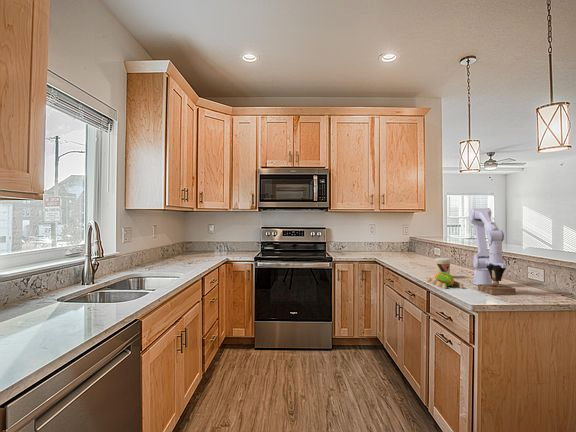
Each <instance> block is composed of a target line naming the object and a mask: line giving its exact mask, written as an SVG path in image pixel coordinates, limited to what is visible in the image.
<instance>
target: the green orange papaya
mask: <svg viewBox="0 0 576 432" xmlns="http://www.w3.org/2000/svg"><path fill="white" fill-rule="evenodd" d="M442 273H444V274H436V273H435V275H434V278H435V280H437V281H440V282H442V283H444V284H446V285H447V287H452V286H454V285H453V284H454V281H455V279H454V277H453V275H452V274H451V273H450V274H448V273H446V272H442Z"/></svg>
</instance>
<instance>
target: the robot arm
mask: <svg viewBox="0 0 576 432" xmlns="http://www.w3.org/2000/svg"><path fill="white" fill-rule="evenodd" d="M491 217H492V210H491V208H490V207H486V208H485V207H484V208H483V207H480V208H479V207H478V208H477V207H475V208H474V207H472V208H470V210H469V219H470V222H471V224H472V225H473V226H474V230H475V237H476V245H477V253H475V254H474V255H473V261H472V262H473V267H474V269H475V270H474V271H473V282H472V284H474V285H476V286H478V284H493V280H492V270H494V272H495V278H496V281H499V282H501V281H502V279H503V275H504V272H505V271H506V270H507V268H508V263H505V262H503V242H504V240H505V233H504V230H502V229H499V227H498V226H497V224H496V223H495V222H494V221H493V220H492V219H491Z"/></svg>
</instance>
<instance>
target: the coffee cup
mask: <svg viewBox="0 0 576 432" xmlns="http://www.w3.org/2000/svg"><path fill="white" fill-rule="evenodd" d="M434 267H435V268H434V269H435V275H436V274H444V273H442V272H446V273H448V274H450V275H451V272H450V270H451V259H450V258H447V257H436V258H434Z"/></svg>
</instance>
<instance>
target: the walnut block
mask: <svg viewBox="0 0 576 432" xmlns="http://www.w3.org/2000/svg"><path fill="white" fill-rule="evenodd" d="M477 290H478V291H479V292H483V293H486V294H488V295H491V296H505V295H507V296H509V295H510V296H511V295H512V296H513V295H514V296H515V295H517V288H515V287H512V286H509V285H505V284H502V283H499V284H498V285H496V284H493V283H492V284H478V285H477Z"/></svg>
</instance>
